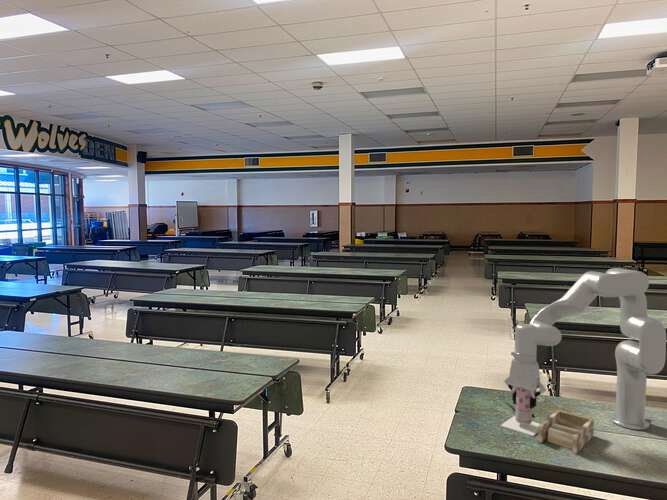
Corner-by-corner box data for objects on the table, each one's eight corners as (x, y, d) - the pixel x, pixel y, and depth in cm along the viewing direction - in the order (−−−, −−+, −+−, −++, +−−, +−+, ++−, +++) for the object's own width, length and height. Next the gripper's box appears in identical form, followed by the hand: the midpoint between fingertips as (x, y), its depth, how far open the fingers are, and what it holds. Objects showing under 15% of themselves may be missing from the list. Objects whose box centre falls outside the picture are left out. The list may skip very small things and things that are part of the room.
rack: (557, 425, 177) (557, 409, 177) (593, 435, 169) (593, 419, 168) (537, 442, 164) (538, 425, 163) (576, 454, 155) (576, 436, 155)
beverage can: (512, 421, 176) (513, 382, 175) (519, 417, 180) (520, 378, 179) (527, 426, 172) (528, 386, 171) (534, 422, 176) (535, 382, 175)
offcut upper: (553, 430, 169) (553, 423, 168) (577, 437, 163) (578, 430, 163) (548, 435, 164) (548, 428, 164) (572, 443, 159) (573, 435, 159)
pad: (513, 417, 185) (513, 415, 185) (545, 426, 176) (545, 425, 176) (500, 426, 176) (500, 425, 176) (532, 436, 168) (533, 435, 168)
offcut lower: (553, 437, 169) (554, 430, 168) (577, 444, 163) (578, 437, 163) (547, 442, 164) (547, 435, 164) (572, 450, 159) (572, 443, 159)
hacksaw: (535, 418, 185) (535, 414, 184) (509, 418, 184) (509, 414, 184) (511, 395, 209) (511, 392, 209) (488, 395, 208) (488, 392, 208)
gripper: (498, 355, 178) (497, 401, 179) (545, 364, 166) (544, 414, 167) (507, 351, 183) (505, 396, 184) (553, 360, 171) (551, 408, 172)
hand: (524, 404), depth 176 cm, fingers closed on beverage can, 5 cm apart
